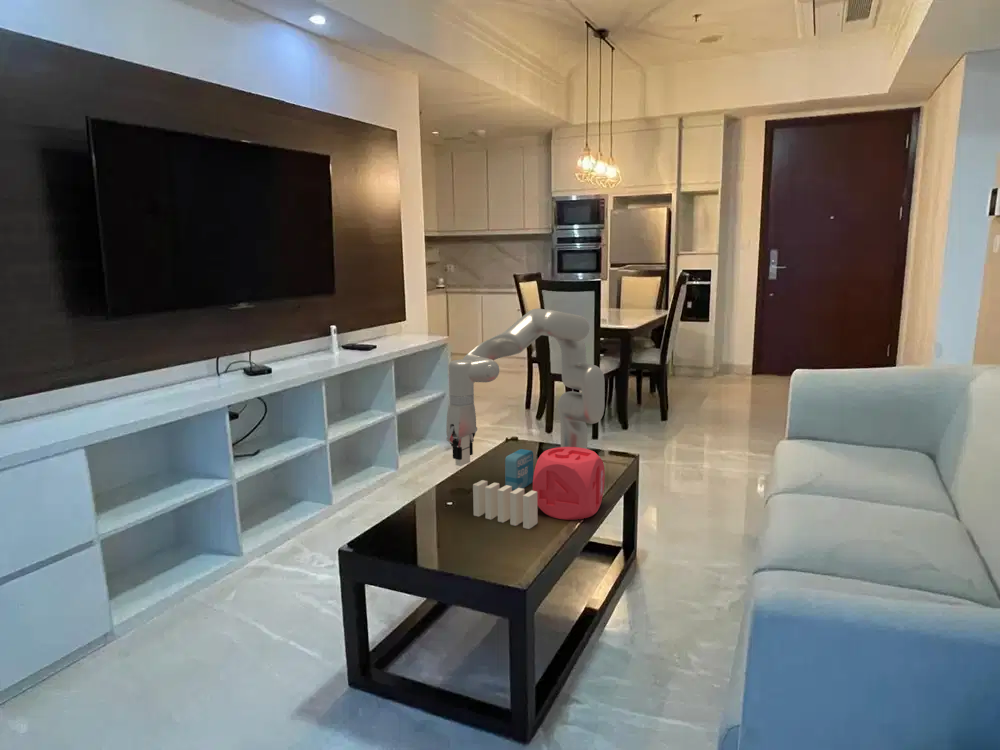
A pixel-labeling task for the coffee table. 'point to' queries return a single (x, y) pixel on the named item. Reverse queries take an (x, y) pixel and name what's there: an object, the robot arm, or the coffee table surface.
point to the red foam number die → (569, 482)
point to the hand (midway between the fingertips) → (462, 456)
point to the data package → (519, 469)
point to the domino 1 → (464, 451)
